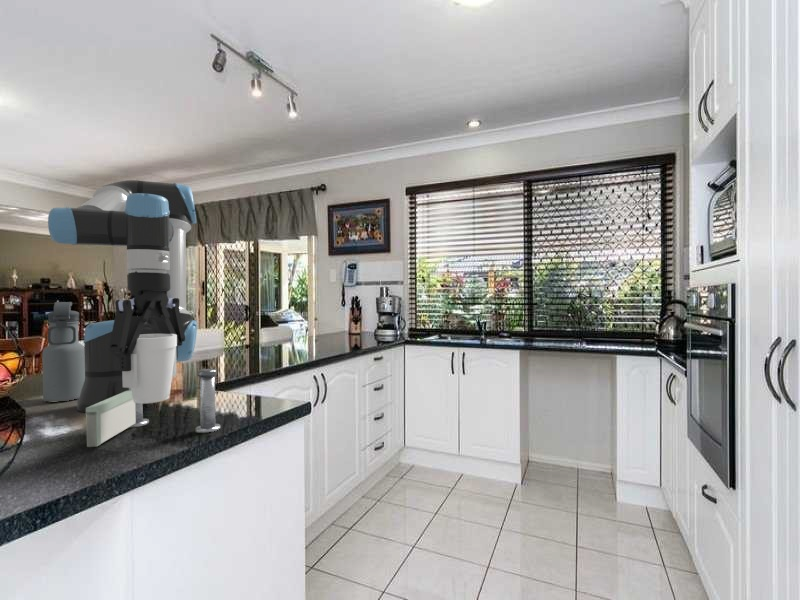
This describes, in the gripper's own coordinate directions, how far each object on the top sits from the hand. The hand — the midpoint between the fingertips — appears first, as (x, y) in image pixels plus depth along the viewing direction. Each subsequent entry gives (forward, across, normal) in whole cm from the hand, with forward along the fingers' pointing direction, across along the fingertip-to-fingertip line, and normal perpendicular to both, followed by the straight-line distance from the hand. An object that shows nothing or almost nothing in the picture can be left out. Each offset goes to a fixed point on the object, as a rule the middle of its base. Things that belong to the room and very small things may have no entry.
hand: (151, 381), depth 86 cm
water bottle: (+13, +23, +52) cm, 59 cm away
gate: (+11, -1, +8) cm, 14 cm away
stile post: (+12, +7, -8) cm, 16 cm away
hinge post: (+12, +7, +12) cm, 18 cm away
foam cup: (+4, 0, 0) cm, 4 cm away
